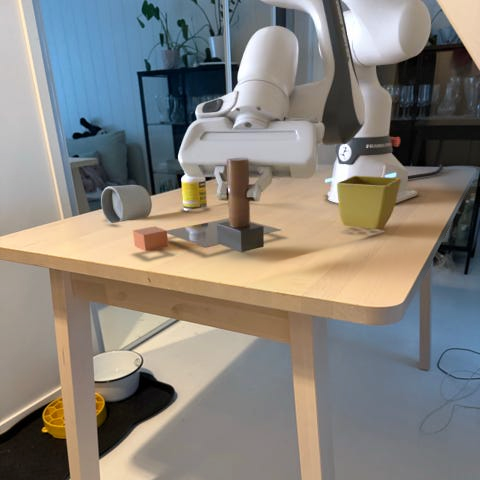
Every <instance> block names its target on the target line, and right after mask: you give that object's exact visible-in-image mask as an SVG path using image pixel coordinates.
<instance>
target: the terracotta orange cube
mask: <svg viewBox="0 0 480 480" xmlns="http://www.w3.org/2000/svg"><path fill="white" fill-rule="evenodd" d="M132 234H133V243H134V247H136V248H138V249H140V250H142V251H144V252H148V251H149V252H150V251H153V250H157V249H162V248H166V247H169V240H168V239H169V238H168V233H167V230H166V229H163V228H161V227H158V226H150V227H144V228H138V229H133V230H132Z"/></svg>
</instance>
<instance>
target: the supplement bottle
mask: <svg viewBox="0 0 480 480" xmlns="http://www.w3.org/2000/svg"><path fill="white" fill-rule="evenodd" d="M183 173H184V175H182V177H181V180H180V181H181V195H182V208H183V210H184V211H190V210H196V209H202V208H207V207H208V201H207V182H206V181H207V180H206V177H190V176H187V174H186V173H185V172H184V171H183Z"/></svg>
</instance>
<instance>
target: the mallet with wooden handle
mask: <svg viewBox="0 0 480 480" xmlns="http://www.w3.org/2000/svg"><path fill="white" fill-rule="evenodd" d="M226 183H227V184H228V203H227V204H228V218H229V221H228V222H223V223H218V224H217V236H218V244H219V245H221V246H224V247H225V248H229V249H232V250H234V251H237V252H239V253H246V252H250V251H254V250H256V249H261V248H264V247H265V243H264V240H265V239H264V238H265V237H264V236H265V234H264V227H263V226H260V225H257V224H253V223H250V221H251V201H248V198H247V191H248V186H249V184H250V178H249V159H248V158H230V159H227V182H226Z"/></svg>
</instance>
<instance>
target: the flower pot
mask: <svg viewBox="0 0 480 480" xmlns="http://www.w3.org/2000/svg"><path fill="white" fill-rule="evenodd" d="M400 180H401V178H393V177H371V176H352V177H350V178H348V179H346V180H344V181H341V182H338V183H337V193H338V203H337V205H338V206H337V207H338V213H339V214H338V215H339V217H340V220H341V222H342V225H343V226H345V227H355V228H356V227H357V228H366V229H374V230H379V231H381V230H383V229H384V227H385V226H386V225H387V222H389V220H390V218H391V216H392V214H393V212H394V209H395V206H396V204H397V203H396V198H397V194H398V190H399V185H400Z"/></svg>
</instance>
